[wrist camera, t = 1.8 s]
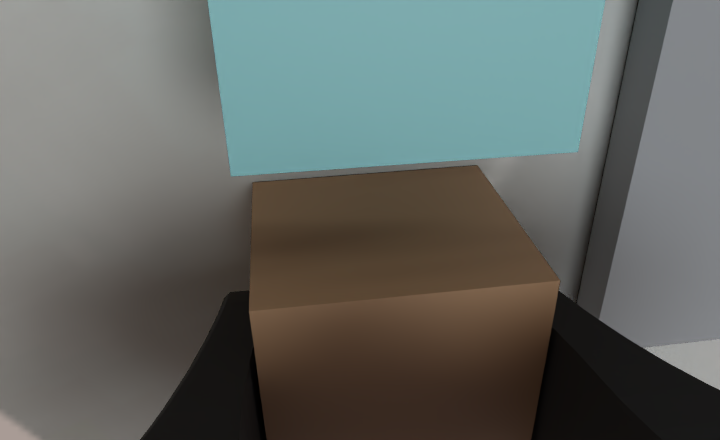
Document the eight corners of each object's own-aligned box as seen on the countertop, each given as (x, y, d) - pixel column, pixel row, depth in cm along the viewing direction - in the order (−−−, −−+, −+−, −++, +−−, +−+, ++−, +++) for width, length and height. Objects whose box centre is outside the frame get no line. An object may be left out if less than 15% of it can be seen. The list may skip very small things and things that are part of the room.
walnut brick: (460, 351, 15) (520, 497, 11) (275, 372, 14) (279, 531, 11) (477, 165, 12) (560, 280, 9) (252, 182, 12) (249, 311, 8)
